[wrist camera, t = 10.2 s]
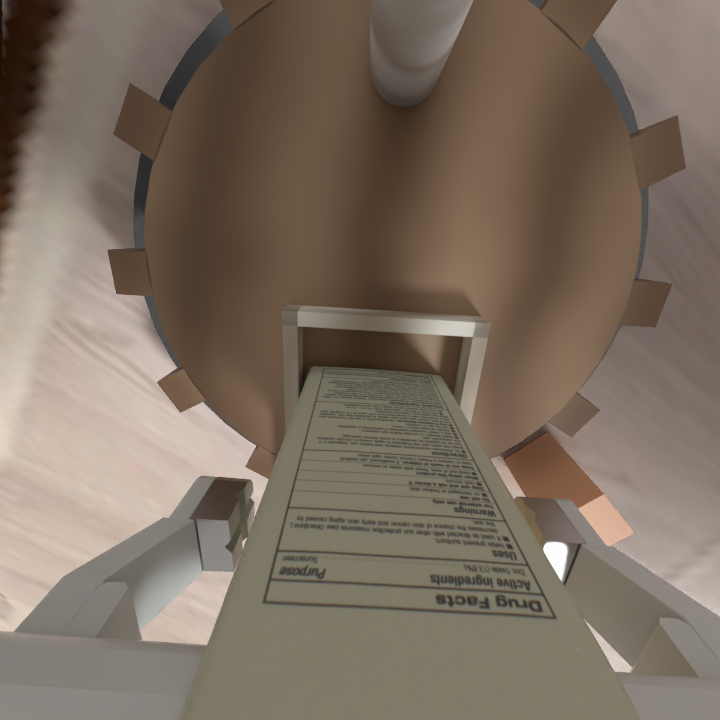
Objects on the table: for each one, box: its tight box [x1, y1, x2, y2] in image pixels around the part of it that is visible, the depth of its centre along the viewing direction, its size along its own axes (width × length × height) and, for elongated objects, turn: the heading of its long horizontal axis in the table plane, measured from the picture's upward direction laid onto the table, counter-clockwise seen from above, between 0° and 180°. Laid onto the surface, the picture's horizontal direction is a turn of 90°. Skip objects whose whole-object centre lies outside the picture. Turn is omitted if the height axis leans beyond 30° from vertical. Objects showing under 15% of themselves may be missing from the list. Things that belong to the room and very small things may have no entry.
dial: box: [108, 0, 685, 479], centre depth 12 cm, size 23×23×8 cm
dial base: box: [134, 0, 648, 445], centre depth 16 cm, size 24×24×1 cm
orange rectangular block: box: [504, 432, 635, 546], centre depth 18 cm, size 3×3×5 cm
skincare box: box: [179, 366, 641, 720], centre depth 10 cm, size 6×4×12 cm
